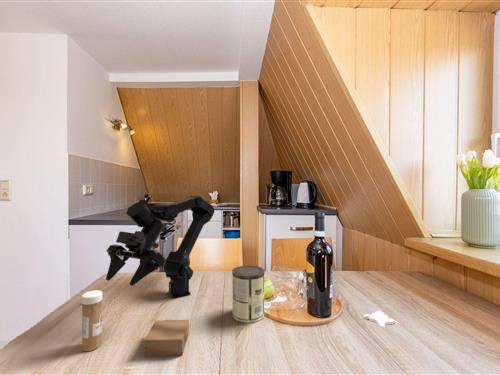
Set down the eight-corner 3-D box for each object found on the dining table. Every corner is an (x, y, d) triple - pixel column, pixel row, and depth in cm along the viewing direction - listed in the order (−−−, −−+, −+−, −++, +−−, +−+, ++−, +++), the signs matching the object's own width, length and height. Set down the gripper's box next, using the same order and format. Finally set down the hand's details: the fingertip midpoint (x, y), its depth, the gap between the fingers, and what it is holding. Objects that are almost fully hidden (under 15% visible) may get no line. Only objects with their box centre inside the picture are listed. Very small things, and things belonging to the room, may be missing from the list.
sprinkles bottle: (103, 348, 65) (103, 294, 65) (81, 354, 63) (81, 298, 62) (101, 338, 69) (101, 288, 69) (81, 344, 66) (81, 292, 66)
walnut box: (155, 335, 71) (155, 320, 71) (188, 334, 71) (188, 319, 71) (143, 356, 62) (144, 340, 62) (182, 355, 63) (182, 338, 62)
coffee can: (240, 304, 89) (241, 263, 89) (269, 310, 85) (269, 267, 85) (225, 318, 80) (226, 272, 80) (256, 326, 76) (256, 278, 76)
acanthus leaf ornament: (362, 319, 81) (362, 313, 81) (376, 314, 85) (376, 308, 85) (384, 331, 75) (384, 324, 75) (399, 325, 78) (399, 319, 78)
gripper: (111, 218, 81) (76, 263, 71) (158, 222, 74) (126, 273, 64) (132, 238, 89) (102, 282, 79) (176, 244, 81) (150, 292, 71)
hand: (118, 282), depth 73 cm, fingers open, 9 cm apart
